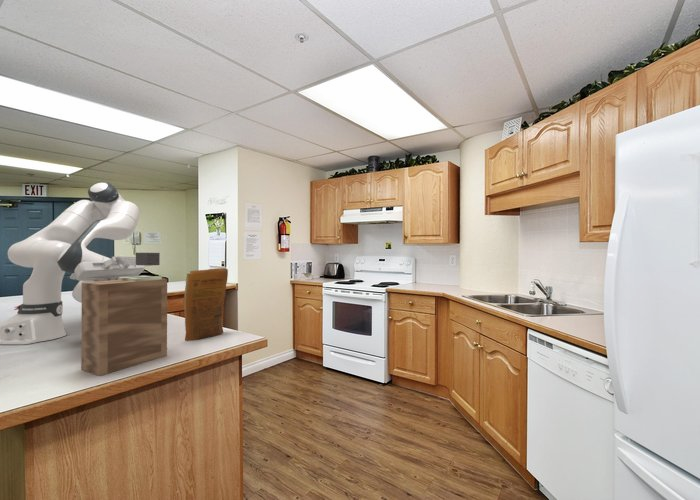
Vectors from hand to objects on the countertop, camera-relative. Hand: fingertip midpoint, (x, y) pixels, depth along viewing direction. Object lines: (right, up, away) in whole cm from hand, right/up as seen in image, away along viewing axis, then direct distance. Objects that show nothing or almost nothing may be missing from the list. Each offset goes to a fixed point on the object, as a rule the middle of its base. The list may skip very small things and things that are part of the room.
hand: (122, 258), depth 111 cm
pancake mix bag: (+19, -33, +22) cm, 44 cm away
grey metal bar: (+6, -2, -3) cm, 7 cm away
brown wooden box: (+7, -33, -8) cm, 34 cm away
